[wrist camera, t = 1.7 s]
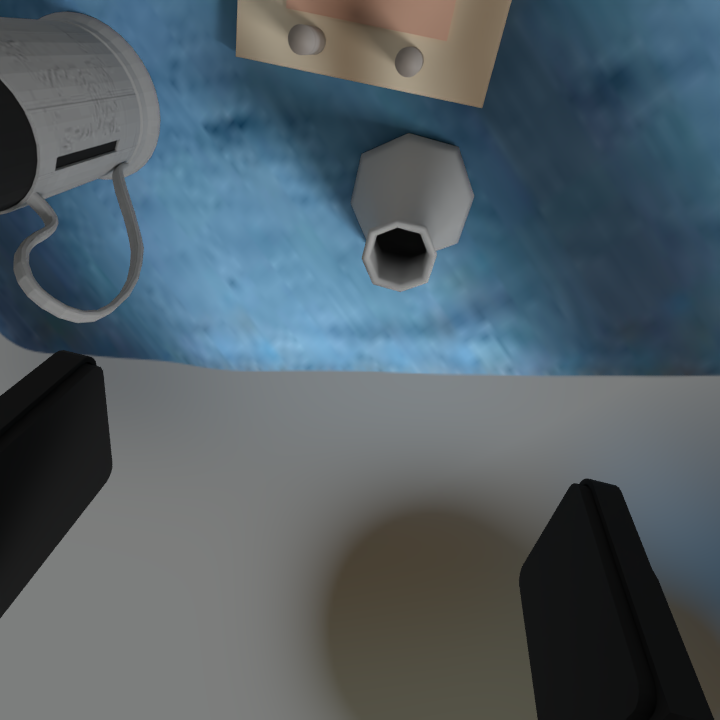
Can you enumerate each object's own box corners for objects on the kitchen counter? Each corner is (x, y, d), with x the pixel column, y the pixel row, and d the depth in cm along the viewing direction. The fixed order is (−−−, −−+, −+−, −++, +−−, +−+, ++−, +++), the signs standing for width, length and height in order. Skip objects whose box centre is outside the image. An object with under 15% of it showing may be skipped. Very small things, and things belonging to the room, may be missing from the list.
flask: (472, 255, 31) (482, 331, 23) (356, 259, 33) (326, 333, 24) (475, 127, 28) (489, 162, 19) (345, 137, 29) (303, 174, 20)
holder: (68, -30, 27) (-276, -100, 14) (254, 195, 31) (124, 295, 19) (-12, 86, 30) (-341, 115, 18) (165, 272, 35) (7, 399, 22)
